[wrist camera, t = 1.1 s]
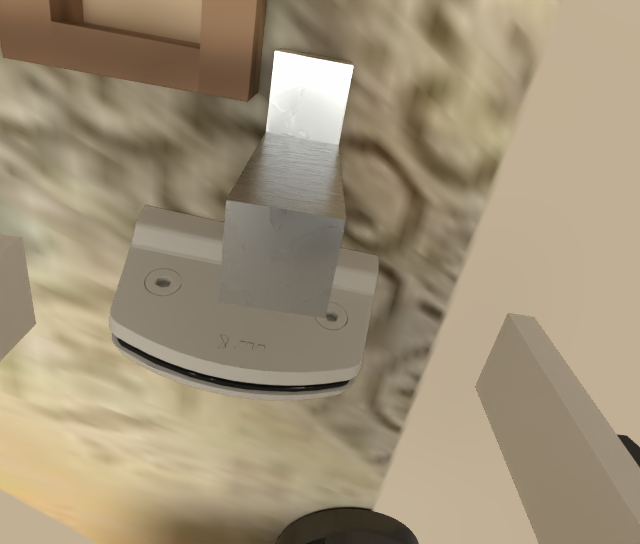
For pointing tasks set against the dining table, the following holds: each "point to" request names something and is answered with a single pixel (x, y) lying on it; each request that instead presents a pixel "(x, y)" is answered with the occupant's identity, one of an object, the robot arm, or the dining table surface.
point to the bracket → (290, 194)
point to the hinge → (233, 318)
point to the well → (143, 40)
